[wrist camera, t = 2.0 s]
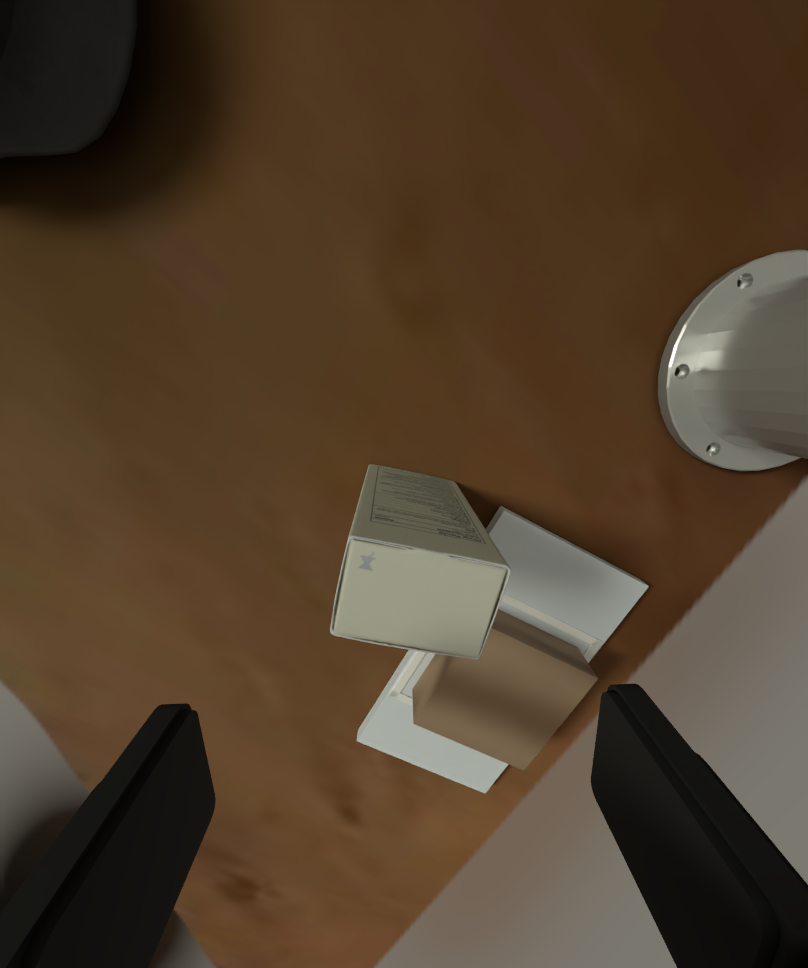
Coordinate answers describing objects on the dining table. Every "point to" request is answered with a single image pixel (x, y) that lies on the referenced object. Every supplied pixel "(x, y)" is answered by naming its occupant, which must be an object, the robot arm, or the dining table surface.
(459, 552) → the skincare box
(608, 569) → the white board
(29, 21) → the casserole
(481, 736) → the walnut plinth
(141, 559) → the dining table surface
